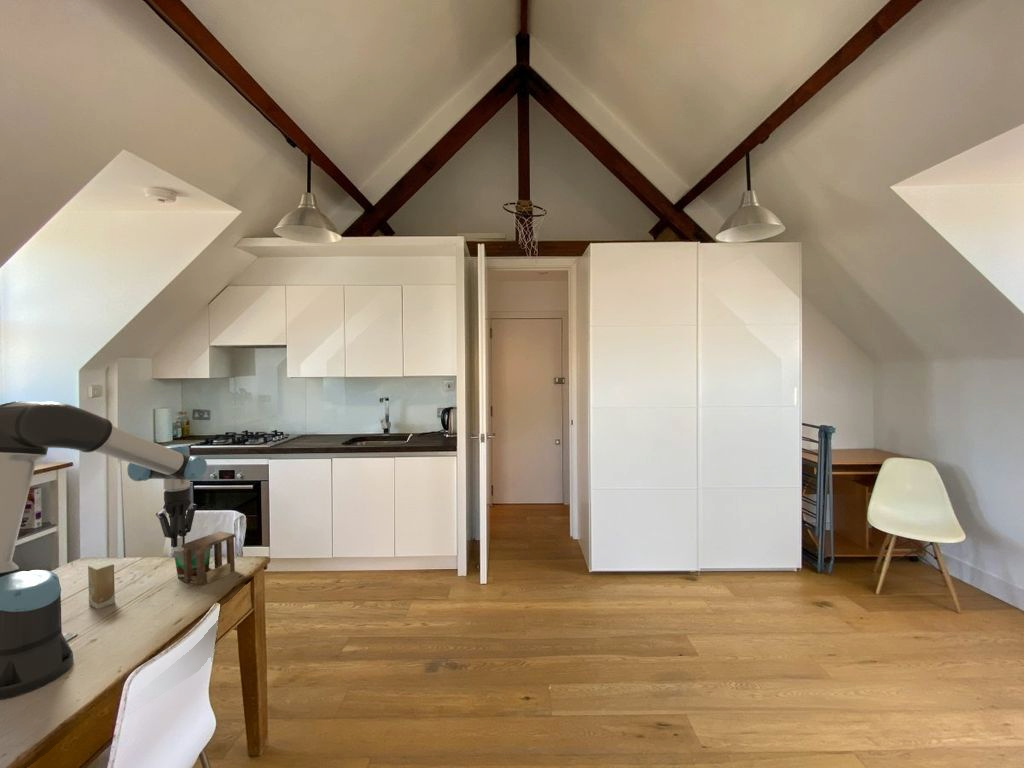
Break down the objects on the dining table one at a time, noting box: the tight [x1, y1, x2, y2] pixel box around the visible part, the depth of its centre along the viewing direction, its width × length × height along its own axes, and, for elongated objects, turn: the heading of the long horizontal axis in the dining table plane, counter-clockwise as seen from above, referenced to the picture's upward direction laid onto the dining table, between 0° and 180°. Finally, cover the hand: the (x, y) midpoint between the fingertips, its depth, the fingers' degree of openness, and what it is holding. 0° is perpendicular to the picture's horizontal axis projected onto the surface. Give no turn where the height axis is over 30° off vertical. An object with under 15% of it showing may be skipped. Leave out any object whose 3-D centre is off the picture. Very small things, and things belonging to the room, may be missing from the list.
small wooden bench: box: [182, 531, 236, 587], centre depth 154 cm, size 13×8×13 cm, turn 159°
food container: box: [172, 545, 214, 580], centre depth 155 cm, size 12×6×10 cm, turn 156°
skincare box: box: [87, 560, 116, 610], centre depth 136 cm, size 6×4×12 cm
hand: (178, 554), depth 159 cm, fingers closed
